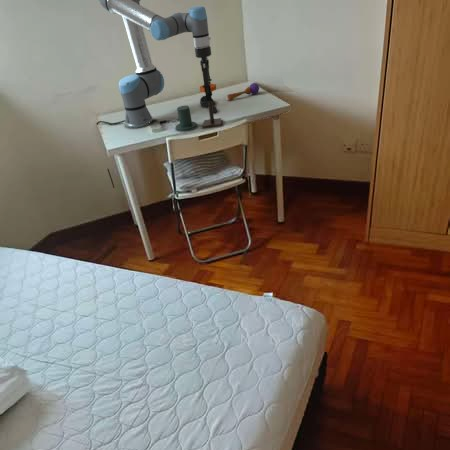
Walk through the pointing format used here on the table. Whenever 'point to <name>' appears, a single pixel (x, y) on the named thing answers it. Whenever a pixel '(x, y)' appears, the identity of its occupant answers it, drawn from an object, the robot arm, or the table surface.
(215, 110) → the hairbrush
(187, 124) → the stand
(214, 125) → the post
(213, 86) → the ring
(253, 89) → the kendama
